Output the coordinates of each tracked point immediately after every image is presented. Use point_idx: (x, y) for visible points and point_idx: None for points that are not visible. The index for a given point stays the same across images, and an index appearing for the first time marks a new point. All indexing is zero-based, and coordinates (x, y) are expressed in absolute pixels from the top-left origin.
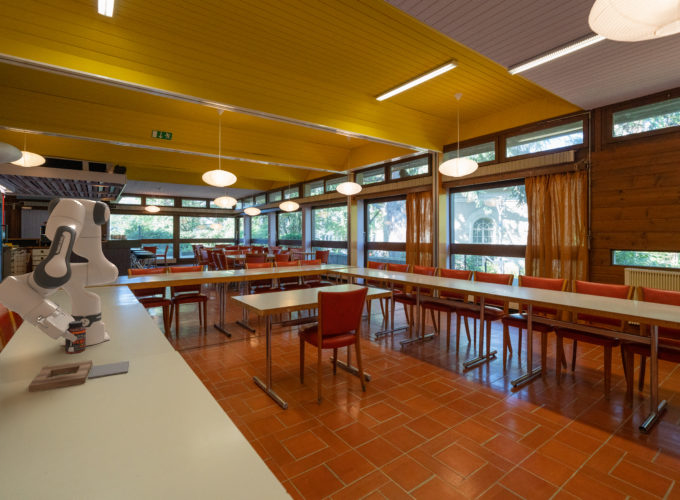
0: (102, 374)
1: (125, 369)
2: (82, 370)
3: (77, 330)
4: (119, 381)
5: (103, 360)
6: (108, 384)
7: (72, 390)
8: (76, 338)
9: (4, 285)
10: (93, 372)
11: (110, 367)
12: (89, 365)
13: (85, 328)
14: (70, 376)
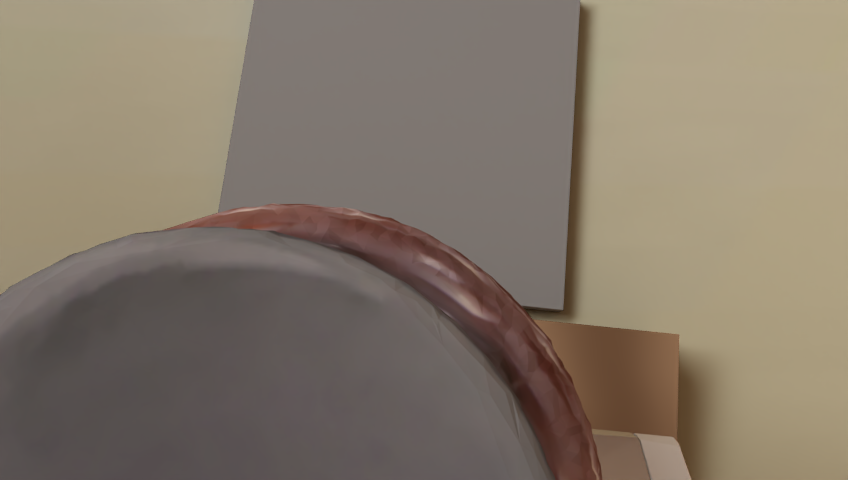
0: (553, 192)
1: (521, 5)
2: None
3: (590, 450)
4: (776, 75)
5: (12, 179)
6: (807, 157)
7: (810, 434)
8: (669, 452)
9: None
10: None
11: (370, 120)
12: None
13: (337, 207)
14: None
